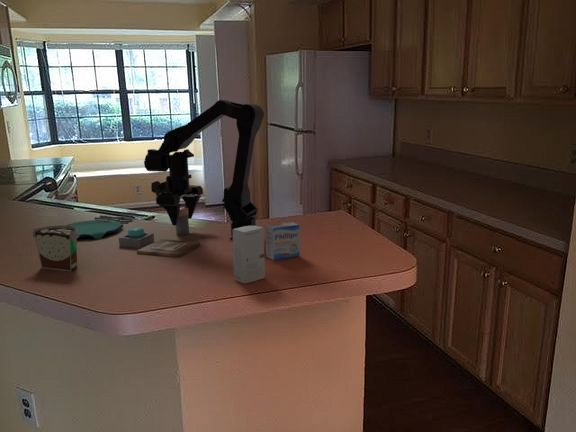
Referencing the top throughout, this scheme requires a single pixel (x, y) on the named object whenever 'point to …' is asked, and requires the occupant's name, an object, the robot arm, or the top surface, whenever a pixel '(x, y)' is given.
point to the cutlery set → (99, 226)
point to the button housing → (136, 241)
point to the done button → (135, 232)
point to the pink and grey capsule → (182, 222)
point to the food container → (57, 247)
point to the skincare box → (248, 253)
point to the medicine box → (282, 241)
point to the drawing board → (168, 248)
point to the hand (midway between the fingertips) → (182, 221)
